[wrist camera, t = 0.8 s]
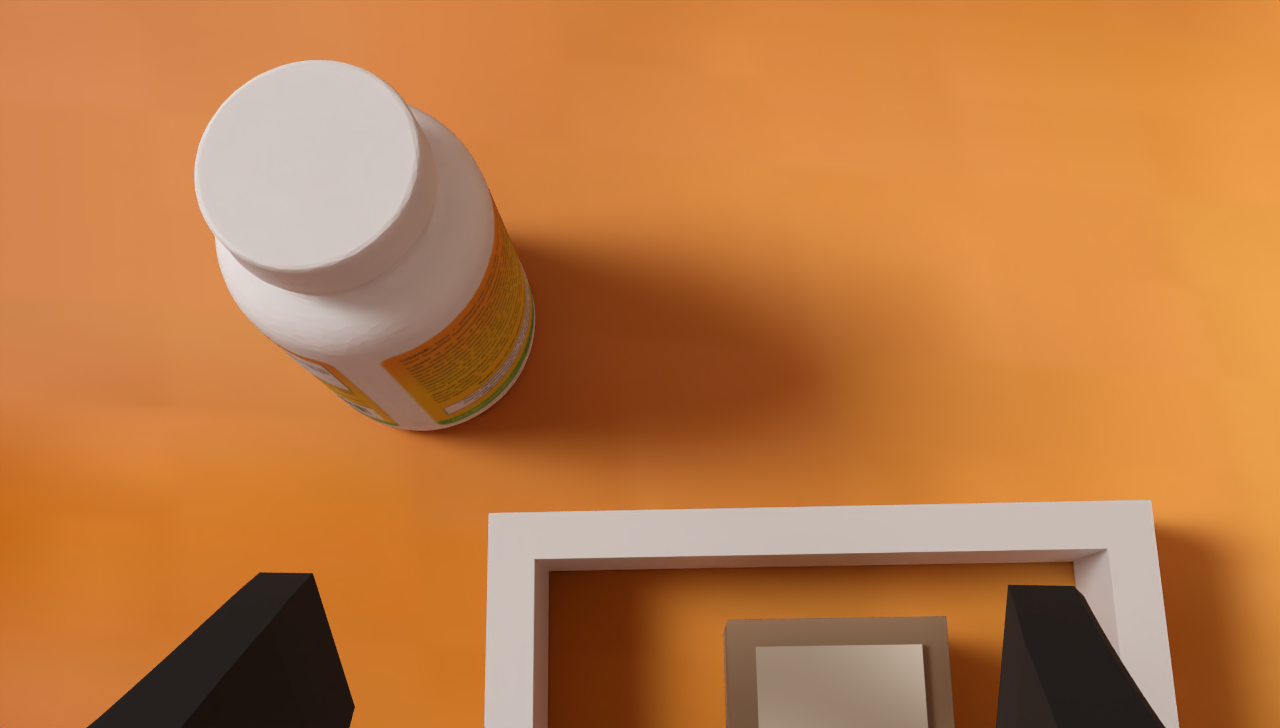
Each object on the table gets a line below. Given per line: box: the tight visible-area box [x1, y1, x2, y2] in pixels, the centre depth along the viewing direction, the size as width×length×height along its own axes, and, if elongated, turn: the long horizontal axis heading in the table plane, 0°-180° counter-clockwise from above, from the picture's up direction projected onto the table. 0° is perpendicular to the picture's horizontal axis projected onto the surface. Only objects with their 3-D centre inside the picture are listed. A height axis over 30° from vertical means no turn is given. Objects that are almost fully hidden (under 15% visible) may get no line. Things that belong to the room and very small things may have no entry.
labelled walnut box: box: [723, 616, 955, 728], centre depth 25 cm, size 4×4×6 cm
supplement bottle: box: [195, 60, 535, 431], centre depth 26 cm, size 5×5×10 cm
